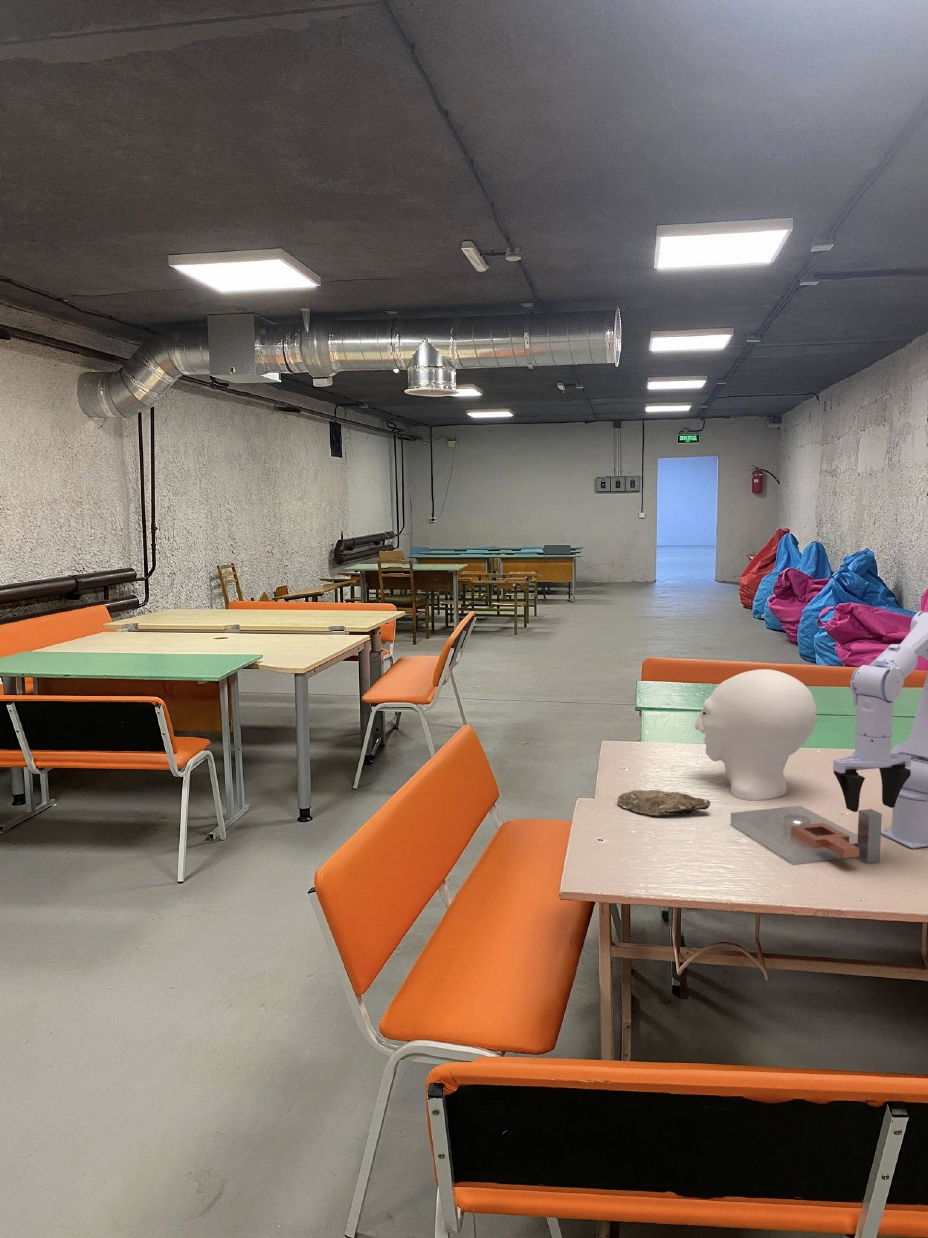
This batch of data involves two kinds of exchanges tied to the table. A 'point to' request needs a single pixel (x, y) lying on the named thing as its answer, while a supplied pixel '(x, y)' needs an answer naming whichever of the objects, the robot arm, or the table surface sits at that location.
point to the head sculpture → (757, 729)
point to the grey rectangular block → (869, 836)
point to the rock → (661, 802)
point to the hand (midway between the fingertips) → (870, 808)
